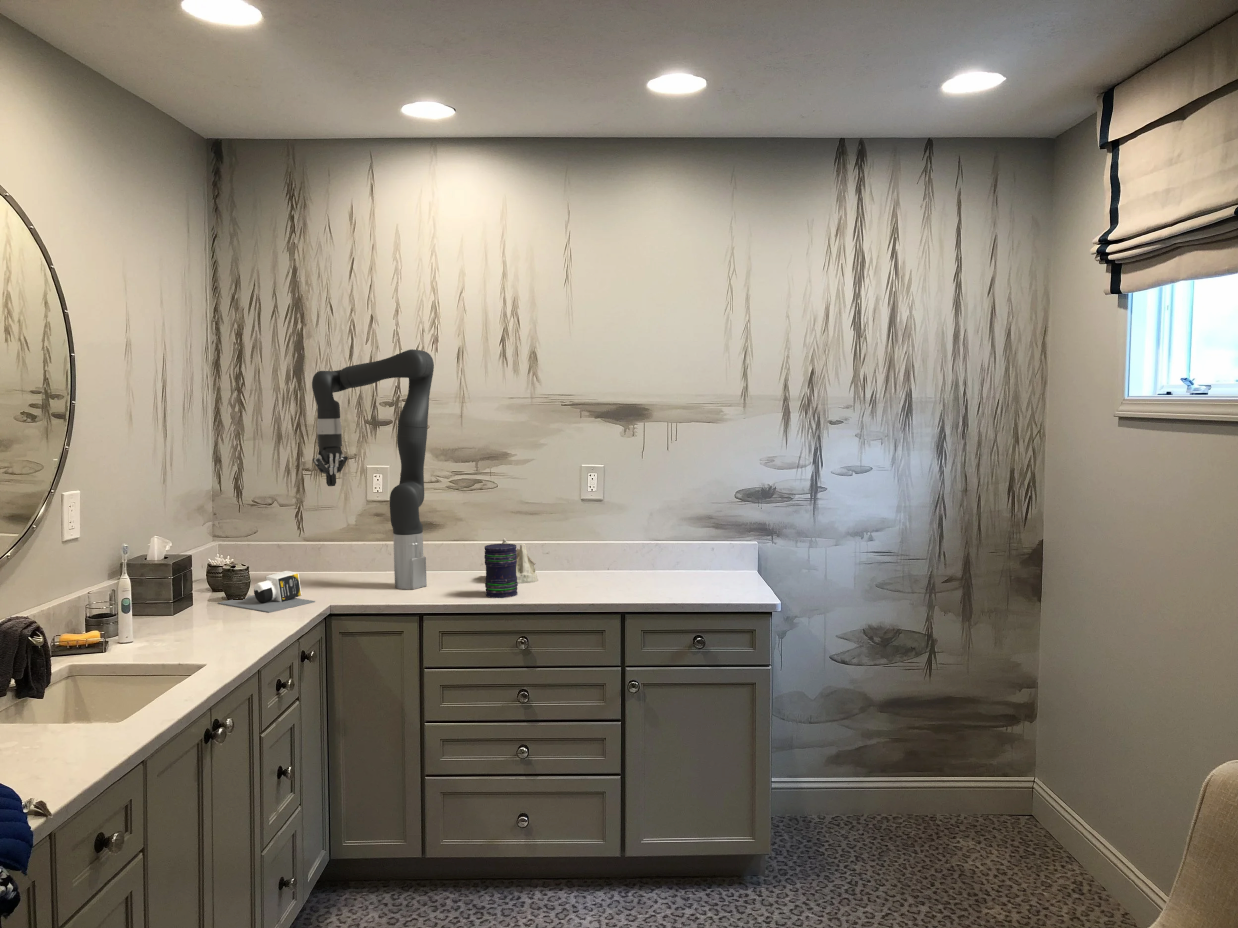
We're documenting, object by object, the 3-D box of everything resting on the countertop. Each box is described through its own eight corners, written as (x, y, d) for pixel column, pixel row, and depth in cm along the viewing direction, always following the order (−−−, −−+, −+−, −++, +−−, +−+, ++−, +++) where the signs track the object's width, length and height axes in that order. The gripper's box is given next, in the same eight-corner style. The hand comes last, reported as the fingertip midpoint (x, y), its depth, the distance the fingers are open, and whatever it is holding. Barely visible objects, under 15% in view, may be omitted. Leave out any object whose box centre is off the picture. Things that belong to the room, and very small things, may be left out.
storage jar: (517, 597, 283) (516, 548, 282) (484, 598, 282) (482, 548, 281) (518, 590, 293) (517, 543, 291) (486, 591, 292) (485, 543, 291)
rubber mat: (315, 601, 281) (315, 600, 281) (269, 612, 267) (268, 611, 267) (264, 593, 294) (264, 592, 294) (217, 603, 280) (217, 602, 280)
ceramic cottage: (540, 582, 306) (537, 535, 305) (490, 587, 301) (486, 540, 301) (531, 576, 320) (528, 532, 320) (483, 581, 316) (480, 537, 316)
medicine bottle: (302, 595, 285) (265, 607, 276) (290, 592, 290) (253, 603, 281) (298, 572, 284) (261, 583, 275) (286, 570, 288) (249, 580, 280)
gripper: (320, 433, 298) (322, 488, 299) (353, 432, 309) (355, 484, 311) (305, 433, 302) (307, 487, 304) (338, 431, 313) (339, 483, 315)
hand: (331, 485), depth 307 cm, fingers closed
